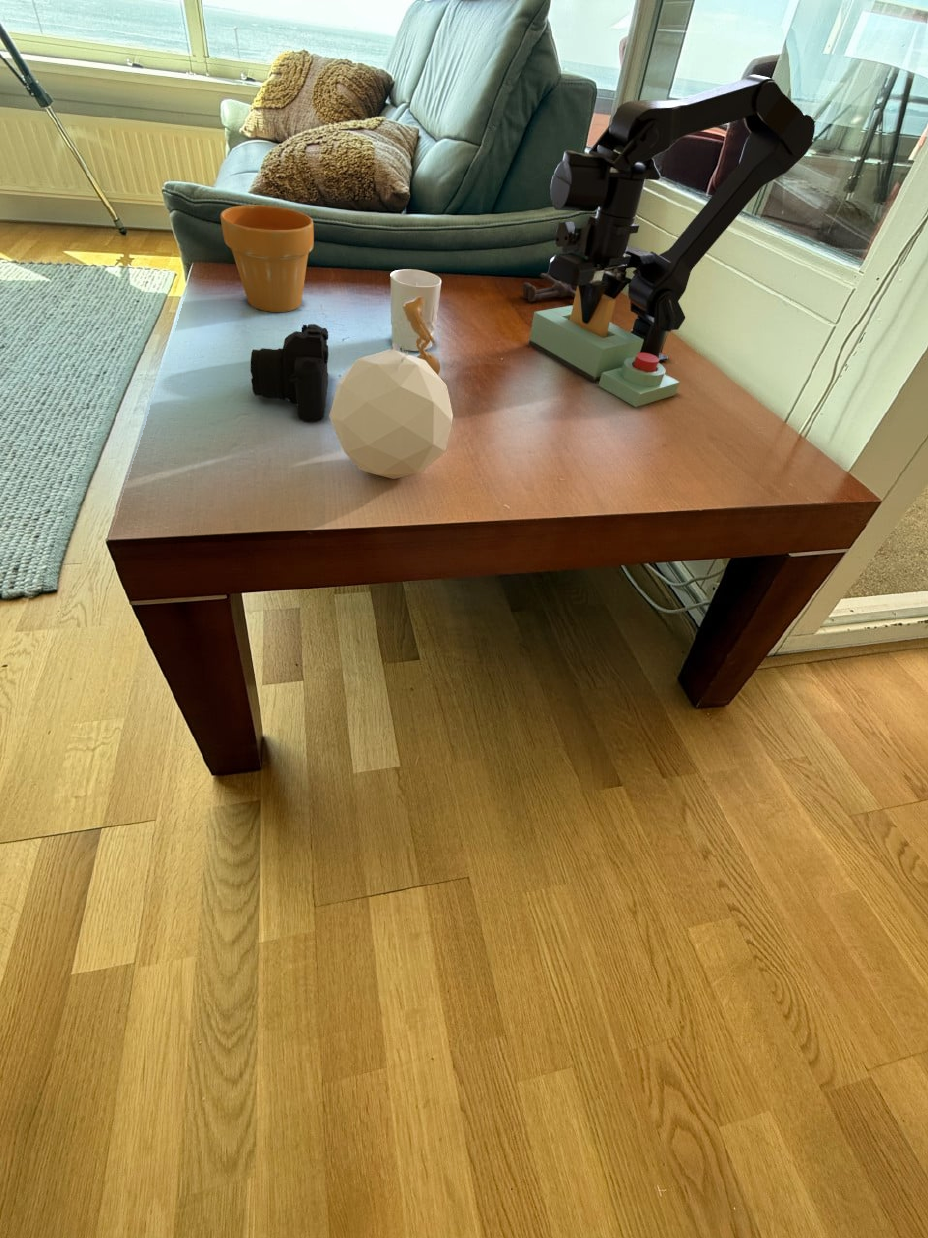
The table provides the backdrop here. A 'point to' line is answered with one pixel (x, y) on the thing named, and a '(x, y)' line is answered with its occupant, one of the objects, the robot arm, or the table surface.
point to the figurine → (421, 331)
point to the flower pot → (269, 253)
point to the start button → (646, 362)
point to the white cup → (408, 289)
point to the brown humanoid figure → (548, 290)
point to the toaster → (581, 343)
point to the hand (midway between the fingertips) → (589, 321)
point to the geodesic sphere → (392, 414)
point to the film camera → (295, 372)
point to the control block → (638, 384)
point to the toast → (594, 315)
